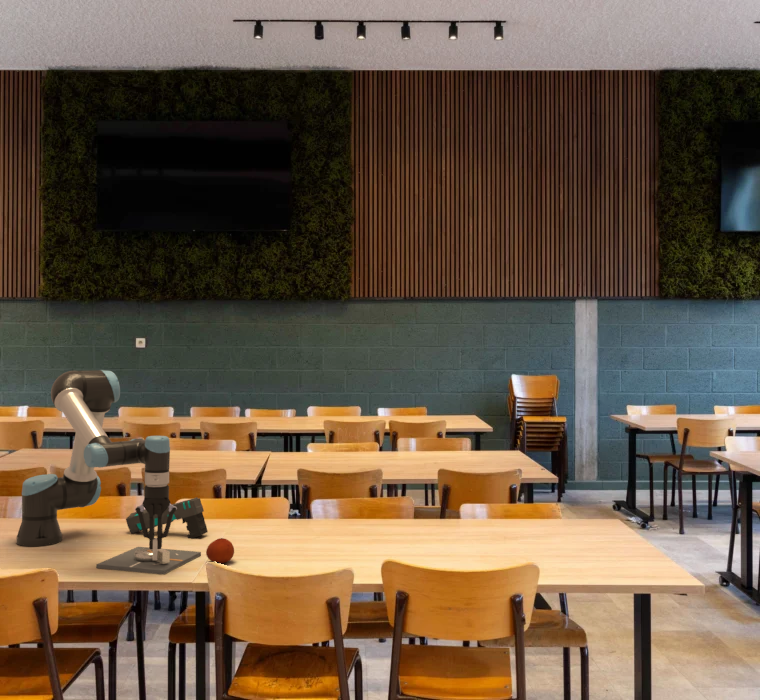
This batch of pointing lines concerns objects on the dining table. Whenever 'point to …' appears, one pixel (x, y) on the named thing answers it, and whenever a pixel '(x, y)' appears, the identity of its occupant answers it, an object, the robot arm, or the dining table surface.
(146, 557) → the dial
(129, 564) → the panel
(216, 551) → the fruit
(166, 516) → the gun
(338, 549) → the dining table surface
